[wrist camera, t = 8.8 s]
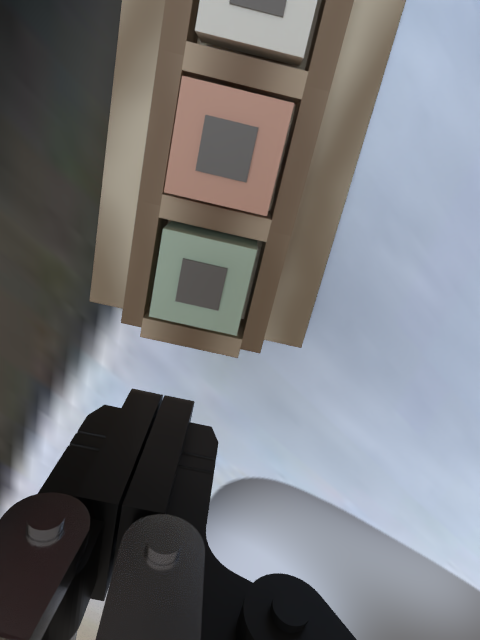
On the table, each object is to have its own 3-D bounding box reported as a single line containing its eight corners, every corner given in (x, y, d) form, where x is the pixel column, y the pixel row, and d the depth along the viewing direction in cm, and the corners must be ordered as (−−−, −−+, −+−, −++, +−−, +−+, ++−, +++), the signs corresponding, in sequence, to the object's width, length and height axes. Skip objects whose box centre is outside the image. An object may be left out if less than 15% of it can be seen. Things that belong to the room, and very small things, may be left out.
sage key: (257, 240, 26) (257, 250, 24) (238, 319, 28) (236, 337, 25) (171, 220, 26) (162, 229, 23) (157, 301, 28) (147, 317, 25)
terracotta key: (290, 107, 22) (294, 102, 20) (266, 209, 24) (267, 217, 22) (190, 82, 22) (181, 74, 20) (172, 187, 24) (163, 192, 21)
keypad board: (415, -49, 23) (450, -92, 19) (299, 341, 31) (305, 372, 27) (142, -122, 22) (116, -182, 18) (95, 296, 30) (69, 321, 26)
